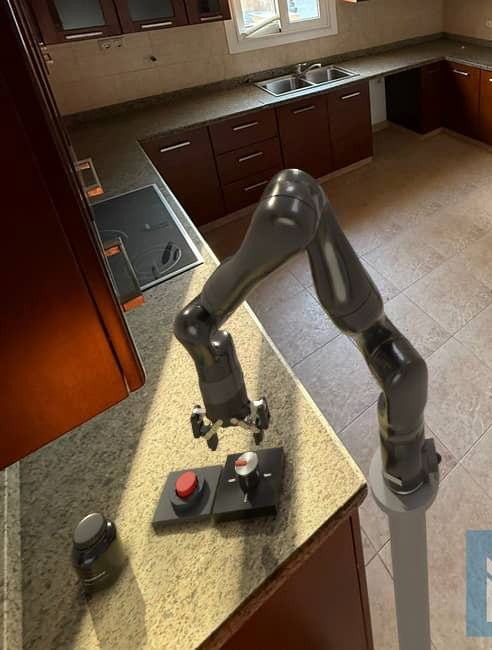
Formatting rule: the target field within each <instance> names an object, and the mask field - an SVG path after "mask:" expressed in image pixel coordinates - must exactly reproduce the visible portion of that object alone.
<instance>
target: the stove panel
mask: <svg viewBox="0 0 492 650" xmlns="http://www.w3.org/2000/svg"><path fill="white" fill-rule="evenodd" d="M247 452H248V451H243V452H237V453H229V454H227V455H226V458H225V463H224V465H223V469H224V470H223V474H222V478H221V482H220V486H219V490H218V494H217V498H216V502H215V506H214V509H213V513H212V518H213V523H214V525H218V524H224V523H231V522H237V521H244V520H250V519H256V518H262V517H263V518H264V517H268V516H275V515H278V510H279V503H280V496H281V487H282V480H283V473H284V465H285V457H286V455H285V449H284V446H278V447H271V448H264V449H258V450H251V451H249V452H253V453H255V454H256V455H257V458H258V462H259V467H260V471H261V477H260V480H259V482H258V483H257V485H256V486H255V487H253V488H252V489H249V490H243V489H241V488H240V486H239V483H238V479H237V475H236V471H235V463H236V462H237V460H238V459H239V457H240V456H241V455H243V454H244V453H247Z"/></svg>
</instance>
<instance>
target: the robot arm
mask: <svg viewBox="0 0 492 650" xmlns="http://www.w3.org/2000/svg"><path fill="white" fill-rule="evenodd" d="M255 206H256V207H255V208H254V211H253V213H252V216H251V220H250V224H249V227H248V229H247V232H246V234H245V236H244V239H243V241H242V242H241V245H240V247H239V249H238V250H237V251H236V252H235V253H232V254H230V255H229V256H227V257H225V258H224V260H222V261H221V263H219V264H218V266H217V267H216V268H215V269H214V270H213V272H212V273H211V274H210V276H209V277H208V278H207V280H206V281H205V282H204V285H202V289H201V291H200V292H199V293H198V294H197V295H196V296H195V297H194V298H193V299H192V300H191V301H189V302H188V303H187V304H186V305H185V306H184V307H183V308H182V309H180V311H179V312H178V313H177V314H176V316H175V317H174V320H173V324H172V332H173V335H174V338H175V339H176V340H177V341H178V342H179V343H180V345H181V346H182V347H183V348H184V350H185V351H186V352H187V354H188V355H189V356H190V358H191V359H192V361H193V363H194V364H193V365H194V367H195V371H196V374H197V379H198V380H197V381H198V388H199V391H200V396H201V399H202V402H203V406H204V407H202V406H201V404H195V405H194V407H193V409H192V412H191V414H190V418H189V422H190V426H191V430H192V435H193V438H194V439H195V440H198V439H201V438H203V439H204V440H205V441H206V444H207V448H208V449H209V450H211V452H217V449H218V446H219V443H220V442H219V441H220V439H219V436H218V432H217V431H218V430H219V429H220V428H222V429H227V428H231V427H232V428H233V427H234V428H237V427H240V428H242V430H244V431H248V430H249V431H251V432H252V435H253V439H254V444H255V446H256V447H257V446H260V445H261V443H263V440H264V435H265V431H267V430H268V429H270V421H271V417H272V413H271V411H270V408H269V405H268V402H267V398H266V396H264V395H263V396H260V397H259V400H257V401H256V400H255V401H252V400H250V398H249V397H248V391H247V387H246V381H245V375H244V371H243V368H242V364H241V362H240V360H239V358H238V353H237V348H236V343H235V341H234V338H233V336H232V334H231V333H230V332H229V331H226V330H224V329H221V328H222V327H223V326H224V325H225V324H226V322H227V321H228V320H229V319H230V318H231V317H232V316H233V315H234V313H236V311H237V310H238V308H240V307H241V306H242V305H243V304H244V303H245V302H246V300H248V298H249V297H250V296H251V294H253V292H254V291H255V290H256V289H257V288H258V287H259V286H260V285H261V284H262V283H263V282H264V281H265V280H266V279H268V278H269V277H270V276H272V275H273V274H275V273H276V272H277V271H279V270H280V269H281V268H283V267H285V266H287V265H288V264H289V263H290V262H292V261H293V260H295V259H296V258H298V257H299V256H300V255H302V254H303V253H304V252H305V254H306V258H307V263H308V267H309V272H310V278H311V282H312V287H313V291H314V293H315V296H316V299H317V302H318V304H319V305H320V307H321V309H322V310H323V312H324V313H325V314H326V316H327V317H328V318H329V320H330V321H331V322H332V324H333V325H334V326H335V328H336V329H338V331H339V332H340V333H342V335H345V336H346V337H348V338H350V339H351V340H353V341H354V343H355V344H356V346H357V348H358V349H359V351H360V353H361V355H362V357H363V360H364V362H365V364H366V366H367V368H368V370H369V372H370V374H371V376H372V378H373V379H374V380H375V383H377V385H378V387H379V388H380V390H381V392H380V393H379V395H378V397H377V402H376V412H377V413H376V414H377V423H378V436H379V446H380V449H381V461H382V477H383V480H384V483H385V485H386V486H387V488H388V489H389V490H390V491H391V492H393V493H395V494H397V495H401V496H407V495H411V494H413V493H415V492H416V491H418V490H419V489H420V488H421V486H422V485H423V484H426V483H428V474H429V473H435V472H438V464H439V465H440V464H441V463H442V461H443V458H442V455H441V454H440V453H439V452H438V451H437V450H436V443H435V438H434V437H428V438H426V433H425V432H426V431H425V409H426V406H427V403H428V397H429V368H428V365H427V362H426V360H425V359H424V358H423V356H422V355H421V354H420V352H419V351H418V350H417V349H416V347H415V346H414V345H413V344H412V342H410V340H409V339H408V338H407V337H406V335H404V334H403V333H402V332H401V330H400V329H398V327H396V325H395V324H394V323H393V322H392V320H390V318H389V317H388V315H387V314H386V311H385V303H384V298H383V296H382V294H381V291H380V290H379V287H378V286H377V285H376V283H375V281H374V279H373V278H372V276H371V275H370V273H369V271H368V270H367V269H366V267H365V266H364V264H363V263H362V261H361V259H360V257H359V256H358V254H357V251H356V250H355V249H354V247H353V245H352V244H351V242H350V241H349V238H347V236H346V233H345V232H344V230H343V228H342V226H341V225H340V222H339V220H338V217H337V215H336V213H335V211H334V208H333V206H332V204H331V201H330V199H329V197H328V195H327V193H326V191H325V189H324V187H322V185H321V184H320V183H319V182H318V180H317V179H315V177H313V176H311V174H309V173H307V172H305V171H302V170H300V169H296V168H288V169H283V170H280V171H278V172H277V173H276V174H275V175H273V177H272V178H271V179H270V180H269V182H268V183H267V185H266V186H265V189H264V191H263V192H262V194H261V196H260V198H259V200H258V202H257V204H256V205H255ZM204 418H206V419H207V420H208V421H209V422H208V424H205V420H204Z"/></svg>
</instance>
